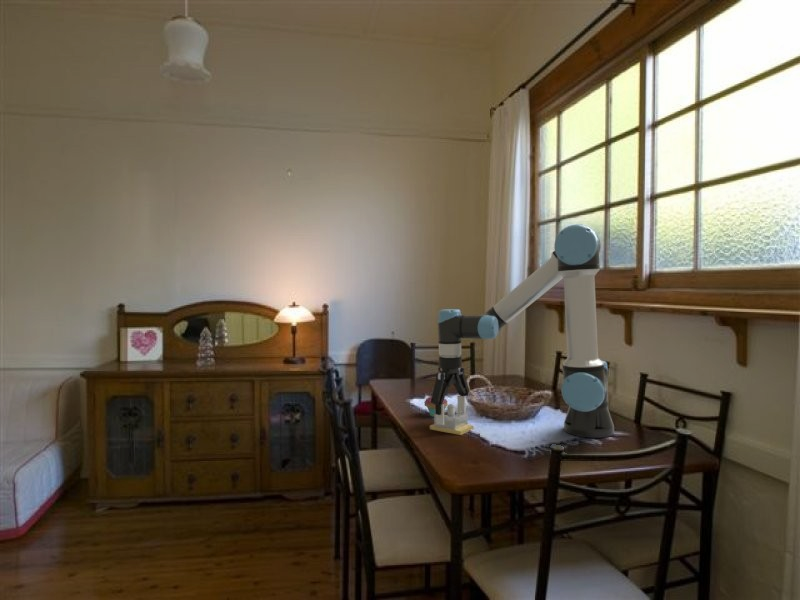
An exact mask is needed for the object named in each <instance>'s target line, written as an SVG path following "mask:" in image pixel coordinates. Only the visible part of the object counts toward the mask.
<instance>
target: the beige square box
mask: <svg viewBox="0 0 800 600" xmlns="http://www.w3.org/2000/svg"><path fill="white" fill-rule="evenodd" d="M433 419H434V420H433V422H434V423H433V424H434V426H435V427H440V428H446V429H451V430H457V429H459V428H461V427H463V426H465V425H467V424H468V425H469V423H468V421H469V419H468V412H467V411H466V412H461V411H458V410H455V416H449V415H448V408H446V409H445V410H444V425H440V424H436V414H434V417H433Z"/></svg>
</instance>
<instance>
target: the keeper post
mask: <svg viewBox="0 0 800 600" xmlns="http://www.w3.org/2000/svg"><path fill="white" fill-rule="evenodd" d="M455 407H456V406H455V404H453V403H449V404H448V405H447V409H448V415H449V416H455V411H456V409H455ZM471 429H472V430H474V425H473V424H469V423H468V424H467V425H465V426H463V427H461V428H459V429H457V430H451V429H446V428H440V427H435V426H434V423H433V424H431V425H429V430H433V431H437V432H443V433H447V434H448V433H449V434H453V435H458V436H462V435H464V434H467V433H469V432H470V431H472V430H471ZM469 430H470V431H469Z"/></svg>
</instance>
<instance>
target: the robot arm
mask: <svg viewBox="0 0 800 600" xmlns="http://www.w3.org/2000/svg"><path fill="white" fill-rule="evenodd" d="M601 247H602V246H601V240H600V237H599V236H598V234H597V233H596V231H594V230H593V229H592V228H591V227H590V226H587V225H585V224H571V225H568V226H566V227H564V228H563V229H562V230H560V232H559V233H558V234H557V236H556V238H555V240H554V247H553V248H554V250H553V251H552V252H551V256H550V258H549V259H548V260H546V262H545V263H543V264H542V265H540V267H538V268H537V269H536V270H535V271H534V272H532V273H531V274H530V275H528V277H526V278H525V279H524V280H523V281H521V282H520V283H519V284H518V285H517V286H516V287H514V289H512V290H511V291H510V292H508V293H507V294H506V295H505V296H504V297H502V299H500V300H499V301H498V302H497V303H495V304H494V305H493V306H492V307H490V308H489V309H488V310H487V311H486V312H484V313H483V314H478V315H477V314H476V315H464V314H462V313H461V312H462V311H461V310H460V309H458V308H457V309H456V308H449V309H448V308H446V309H445V308H444V309H440V310H439V311H438V316H437V319H438V320H437V325H438V326H437V327H438V328H437V333H438V335H437V336H438V355H439V357H438V367H439V368H440V369H441V372H436V373H435V383H434V386H433V391H432V395H431V396H432V399H431V403H432V404H435V409H436V424H440V425H444V404H442V403H443V400H444V398H445V399H446V395H447V393H448V389H449V388H450V387H451V386H452V385H453V386H454V389H455V390H456V391H457V393H458V395H457V411H461V412H467V411H466V410H467V409H466V400H467V399H466V397H469V393H470V388H469V385H468V382H467V381H468V380H467V378H466V376H465V368H464V367H462V366H463V363H462V362H463V361H462V357H461V355H462V339H475V340H477V339H478V340H494V339H496V338H497V337H498V334H499V332H500V331H501V330H502V328H504V327H505V326H506V325H507V324H508V323H509V322H511V321H512V320H513V319H514V318H515V317H517V316H518V315H519V314H520V313H522V312H523V311H524V310H526V309H527V308H528V307H529V306H531V305H532V304H533V303H535V301H537V300H538V299H539V298H540V297H542V296H543V295H544V294H546V293H547V292H548V291H549V290H550V289H552V288H553V287H554V286H555V285H556V284H558V283H559V282H560V281H561V280H563V291H564V292H563V293H564V310H565V311H564V312H565V313H564V314H565V333H566V353H567V355H566V356H567V357H566V359H565V360H564V361H563V362H562V381H563V382H562V384H561V390H560V391H561V396H562V398H563V401H564V402H565V404H567V405H568V409H567V413H566V415H565V418H564V421H563V431H565V432H566V434H567V433H568V434H569V435H572V436H576V437H582V438H592V439H593V438H595V439H599V438H600V439H601V438H608V437H612V436H613V435H615V426H614V422H613V419H612V416H611V414H610V410H609V389H608V387H609V386H608V385H609V383H608V381H609V380H608V378H609V374H608V373H609V368H608V362H607V361H605V360H601V358H599V349H598V347H599V344H598V326H597V324H598V323H597V302H596V284H595V283H596V281H595V278H596V277H595V276H596V275H597V273H598V272H599V271H600V270H601V269H600V252H601Z"/></svg>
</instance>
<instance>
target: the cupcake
mask: <svg viewBox="0 0 800 600" xmlns="http://www.w3.org/2000/svg"><path fill="white" fill-rule="evenodd" d="M431 399H432V395H431V396H429V397H428V398H426V399H425V400H424V404H423V405H424V406H425V407H426V408H427V410H428V412H429V415H430V417H433V418H434V414H436V409H435V404H432V403H431ZM442 404H444V410H446V409H447V408H446V407H448V405H449V404H448V400H447V399H446V397H445V398H444V400H443V403H442Z"/></svg>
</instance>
